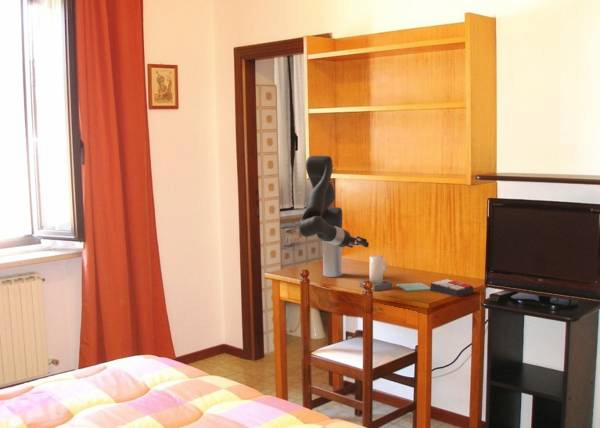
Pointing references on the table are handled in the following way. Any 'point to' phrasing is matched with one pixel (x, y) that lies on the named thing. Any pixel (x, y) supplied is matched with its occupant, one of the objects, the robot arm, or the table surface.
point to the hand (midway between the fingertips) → (360, 245)
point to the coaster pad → (413, 287)
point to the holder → (380, 285)
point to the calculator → (452, 287)
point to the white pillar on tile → (376, 269)
